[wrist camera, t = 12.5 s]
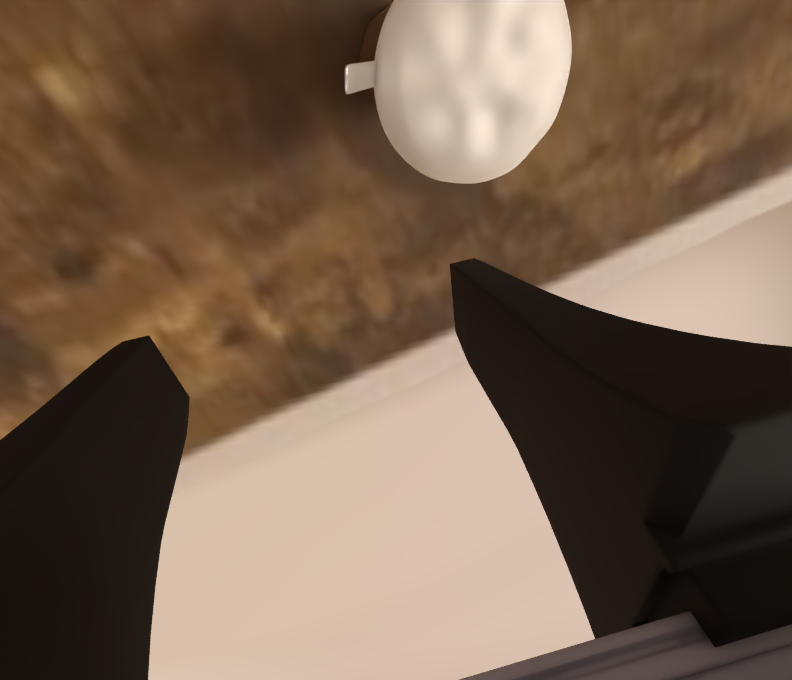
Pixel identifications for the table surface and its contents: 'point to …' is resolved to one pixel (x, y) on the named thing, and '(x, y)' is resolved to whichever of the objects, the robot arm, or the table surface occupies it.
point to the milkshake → (465, 81)
